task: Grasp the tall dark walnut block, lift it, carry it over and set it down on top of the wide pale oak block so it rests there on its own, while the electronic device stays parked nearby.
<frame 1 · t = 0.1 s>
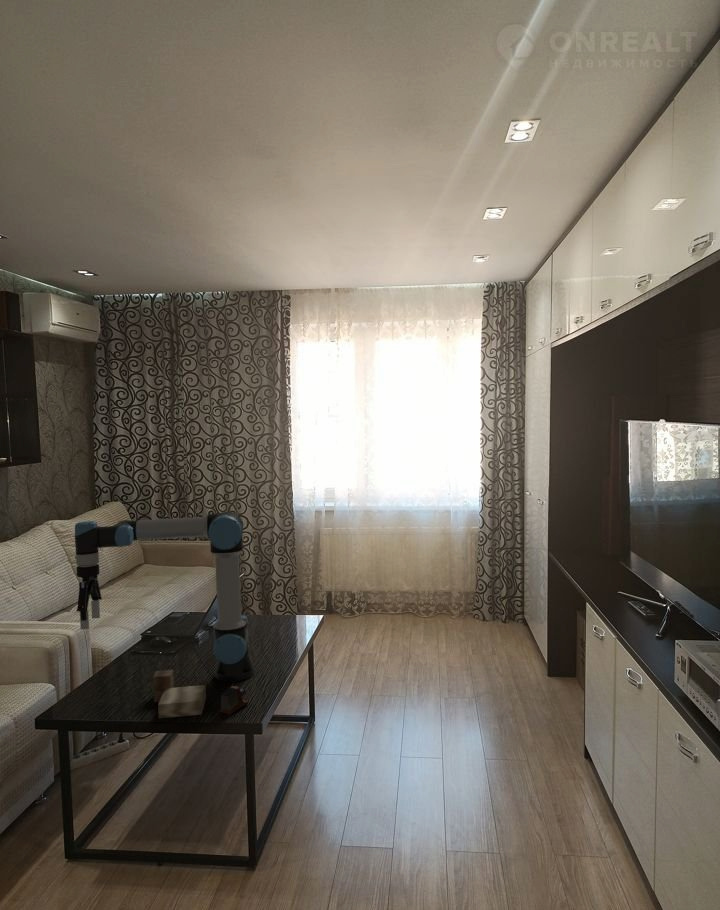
hand: (90, 623, 231), 28 cm above the table, fingers open, 13 cm apart
walnut block: (164, 698, 231), on the table
oak block: (183, 708, 222), on the table
electronic device: (235, 709, 220), on the table
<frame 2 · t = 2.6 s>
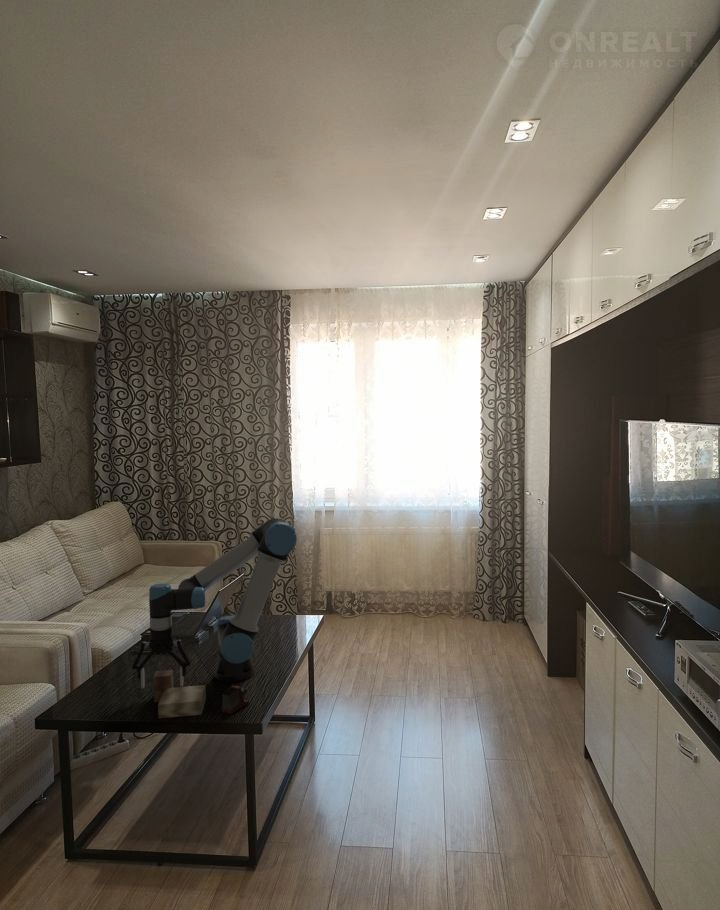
hand: (162, 686, 231), 4 cm above the table, fingers open, 13 cm apart
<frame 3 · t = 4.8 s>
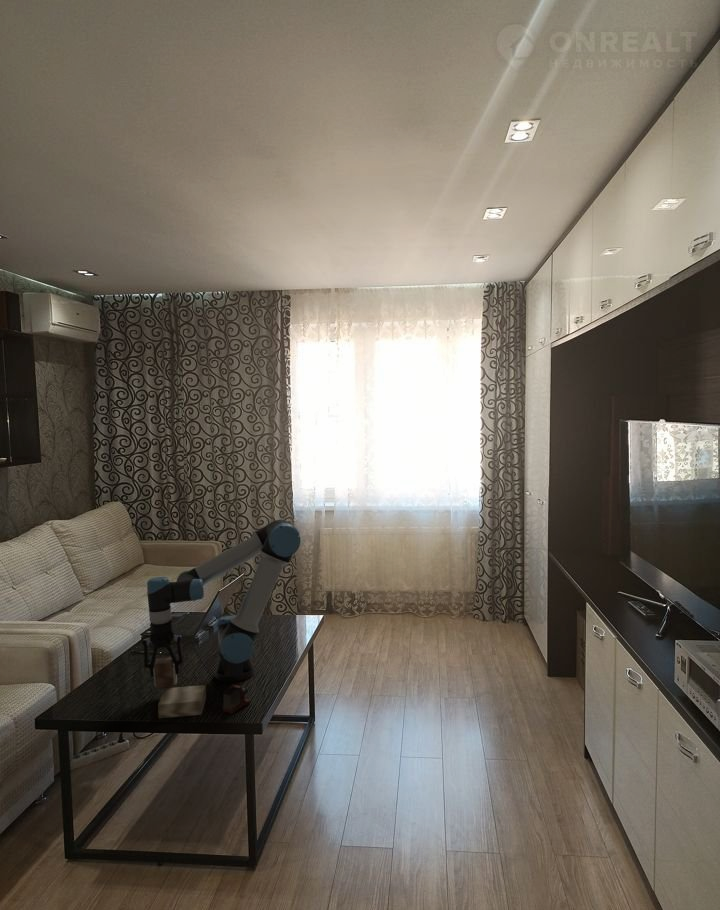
hand: (165, 684, 231), 5 cm above the table, fingers closed on walnut block, 6 cm apart
walnut block: (166, 685, 231), point 5 cm above the table, touching gripper
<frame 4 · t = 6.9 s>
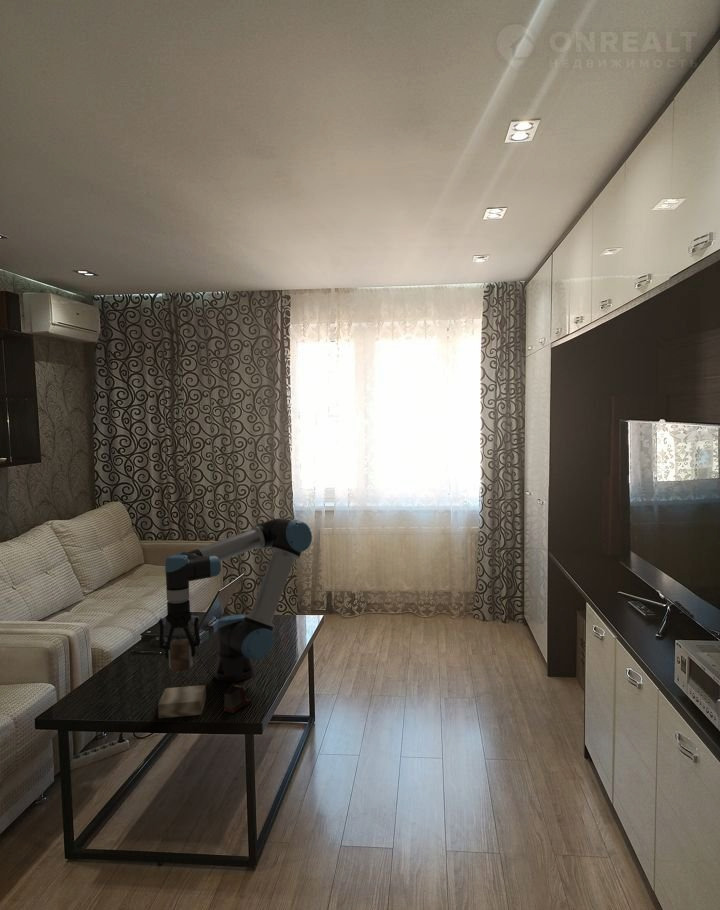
hand: (181, 666, 222), 14 cm above the table, fingers closed on walnut block, 6 cm apart
walnut block: (181, 667, 222), point 14 cm above the table, touching gripper
when the fingers open (6 cm above the table, at t = 8.9 s): walnut block drops 1 cm, resting on oak block.
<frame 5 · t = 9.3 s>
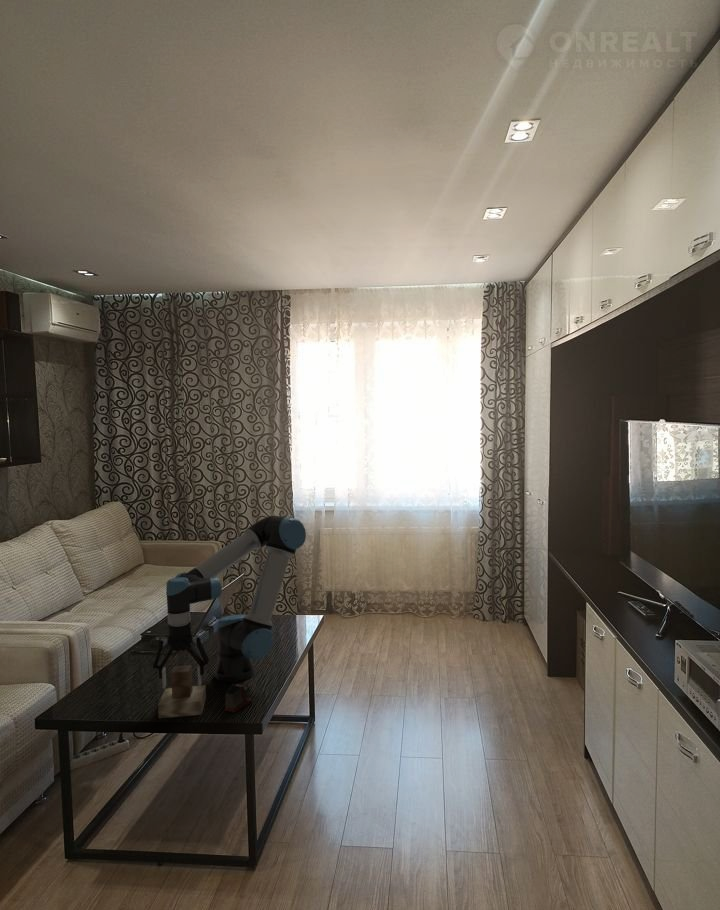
hand: (182, 685, 222), 8 cm above the table, fingers open, 11 cm apart
walnut block: (182, 694, 222), point 5 cm above the table, touching oak block
oak block: (183, 708, 222), on the table, touching walnut block
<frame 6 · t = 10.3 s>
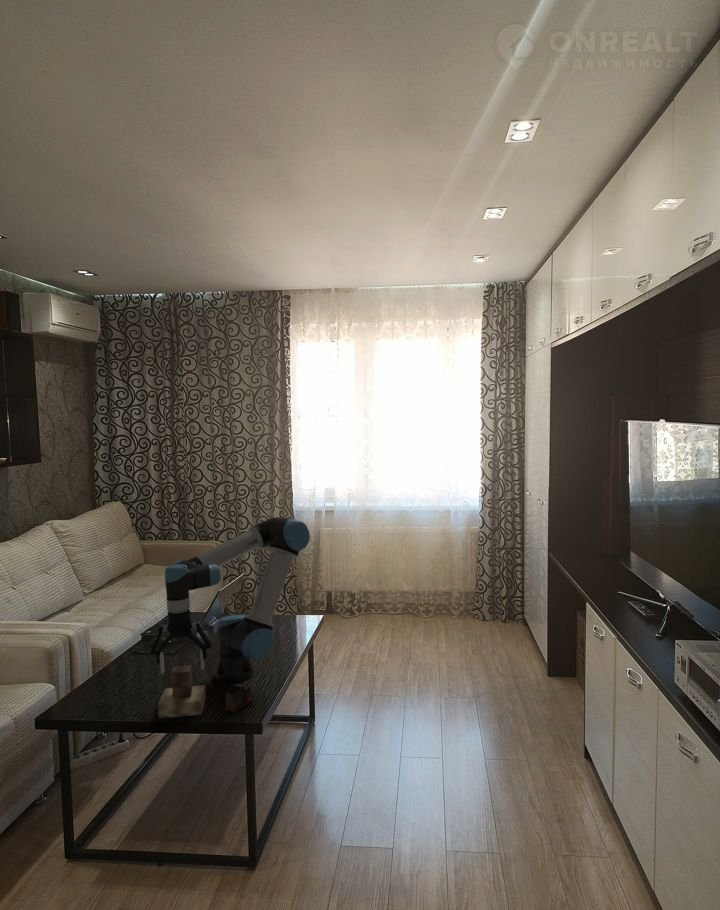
hand: (182, 670, 222), 13 cm above the table, fingers open, 13 cm apart
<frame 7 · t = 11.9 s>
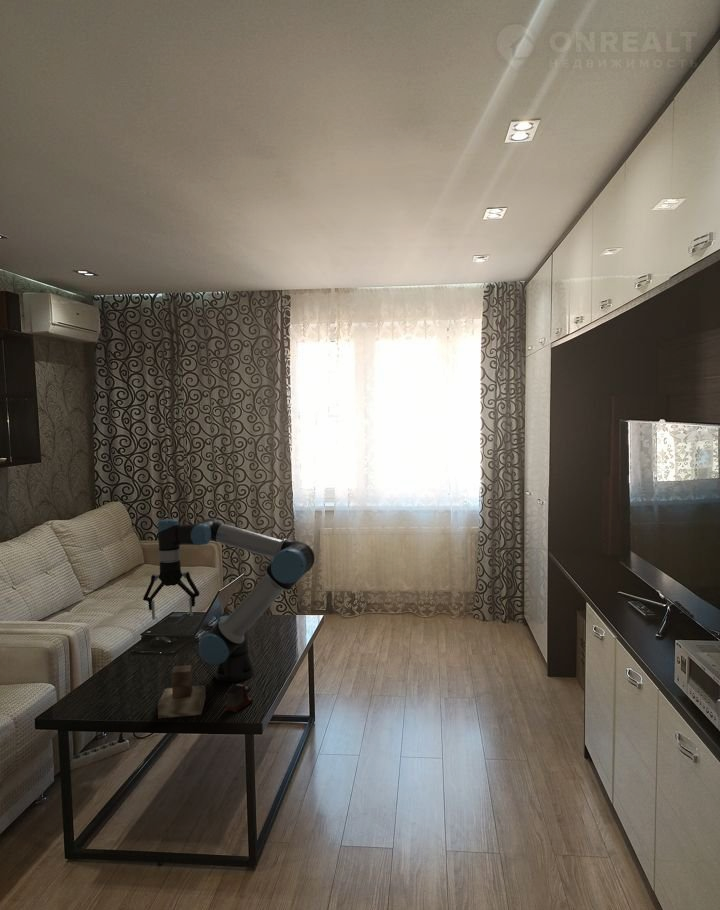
hand: (172, 616, 241), 26 cm above the table, fingers open, 13 cm apart
walnut block: (182, 694, 222), point 5 cm above the table
oak block: (182, 708, 222), on the table
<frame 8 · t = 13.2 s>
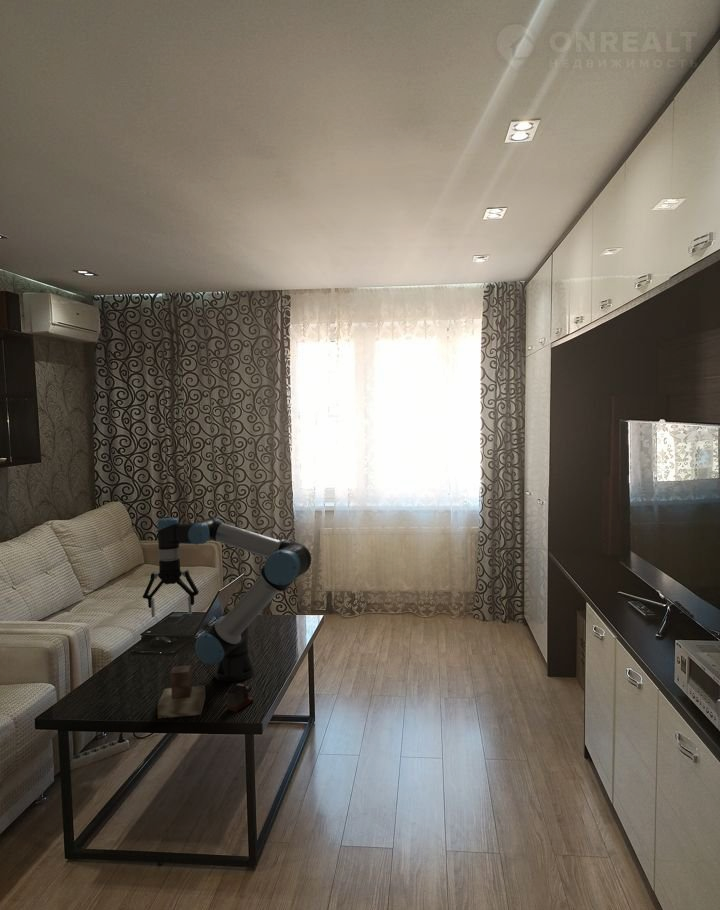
hand: (172, 614, 243), 27 cm above the table, fingers open, 13 cm apart
walnut block: (182, 694, 222), point 5 cm above the table, touching oak block
oak block: (182, 709, 222), on the table, touching walnut block
at the end: walnut block inside the target area on the oak block (0.1 cm from its centre), point 5.0 cm above the oak block's base; walnut block tilted 0°; the gripper is holding nothing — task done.
